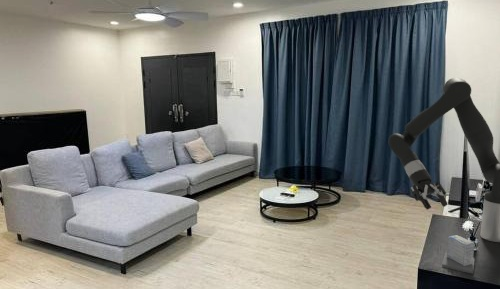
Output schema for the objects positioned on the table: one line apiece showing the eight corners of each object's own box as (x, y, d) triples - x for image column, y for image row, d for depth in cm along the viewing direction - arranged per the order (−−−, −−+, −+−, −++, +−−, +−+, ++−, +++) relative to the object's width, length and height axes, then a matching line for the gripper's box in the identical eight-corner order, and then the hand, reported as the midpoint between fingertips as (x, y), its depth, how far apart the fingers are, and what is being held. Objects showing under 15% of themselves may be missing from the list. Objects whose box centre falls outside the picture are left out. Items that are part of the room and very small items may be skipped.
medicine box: (472, 264, 135) (475, 242, 134) (463, 266, 134) (466, 244, 132) (454, 255, 142) (456, 234, 141) (446, 257, 141) (448, 236, 140)
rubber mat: (445, 253, 146) (445, 251, 146) (474, 260, 140) (474, 257, 140) (442, 266, 136) (442, 264, 136) (473, 274, 130) (473, 271, 130)
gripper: (408, 170, 149) (429, 205, 141) (435, 166, 154) (457, 200, 145) (399, 179, 155) (418, 213, 147) (425, 175, 160) (445, 208, 151)
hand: (437, 207), depth 146 cm, fingers open, 8 cm apart
